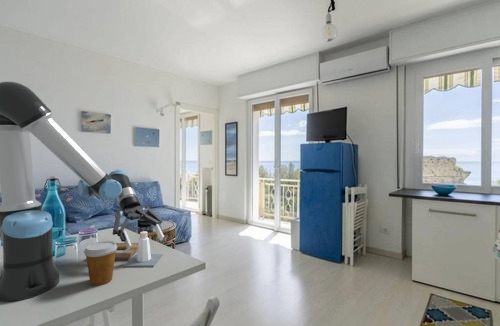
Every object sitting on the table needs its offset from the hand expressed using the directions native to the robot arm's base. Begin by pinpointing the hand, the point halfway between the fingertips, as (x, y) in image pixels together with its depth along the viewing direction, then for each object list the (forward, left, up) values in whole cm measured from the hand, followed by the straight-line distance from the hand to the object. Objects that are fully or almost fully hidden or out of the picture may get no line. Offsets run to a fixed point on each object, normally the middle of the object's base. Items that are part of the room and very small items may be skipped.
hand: (146, 243), depth 99 cm
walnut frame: (+10, +16, -8) cm, 21 cm away
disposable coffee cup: (-15, +9, -8) cm, 19 cm away
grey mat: (+1, +1, -8) cm, 8 cm away
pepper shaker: (+1, +2, -7) cm, 7 cm away
